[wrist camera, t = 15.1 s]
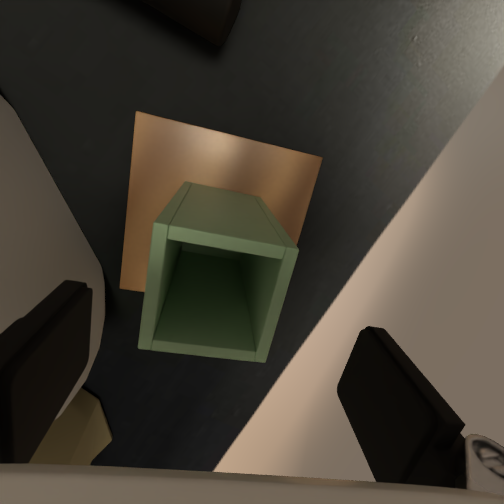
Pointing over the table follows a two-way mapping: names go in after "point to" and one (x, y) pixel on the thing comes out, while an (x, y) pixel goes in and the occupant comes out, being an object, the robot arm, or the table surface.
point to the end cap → (201, 16)
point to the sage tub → (215, 275)
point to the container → (75, 433)
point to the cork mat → (206, 180)
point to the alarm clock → (39, 237)
